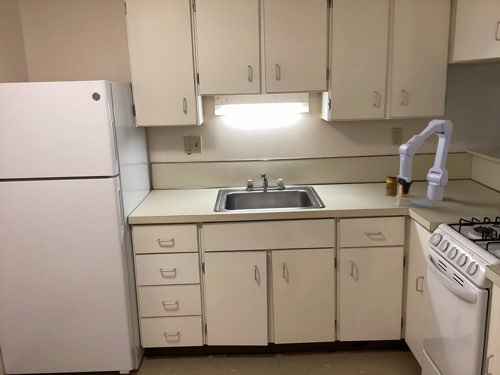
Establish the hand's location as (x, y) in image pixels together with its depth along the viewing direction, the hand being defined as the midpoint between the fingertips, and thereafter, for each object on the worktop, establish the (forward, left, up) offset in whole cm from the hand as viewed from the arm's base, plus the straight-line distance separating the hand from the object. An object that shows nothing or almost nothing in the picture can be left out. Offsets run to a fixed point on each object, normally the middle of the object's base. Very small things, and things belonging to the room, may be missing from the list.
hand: (404, 193), depth 221 cm
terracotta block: (0, 0, -1) cm, 1 cm away
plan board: (0, +5, -7) cm, 9 cm away
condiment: (-21, -1, -7) cm, 22 cm away
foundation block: (0, 0, -6) cm, 6 cm away
